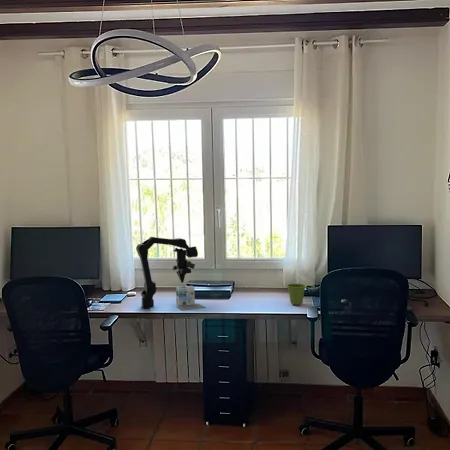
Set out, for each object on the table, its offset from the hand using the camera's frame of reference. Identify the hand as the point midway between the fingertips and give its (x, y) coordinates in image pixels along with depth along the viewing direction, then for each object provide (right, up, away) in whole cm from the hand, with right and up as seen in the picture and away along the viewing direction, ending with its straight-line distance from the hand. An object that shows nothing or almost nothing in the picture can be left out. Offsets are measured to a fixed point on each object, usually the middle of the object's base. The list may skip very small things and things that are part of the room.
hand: (182, 282), depth 329 cm
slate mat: (+6, -14, -13) cm, 20 cm away
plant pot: (+71, -12, -9) cm, 73 cm away
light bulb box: (+2, -13, -4) cm, 14 cm away
